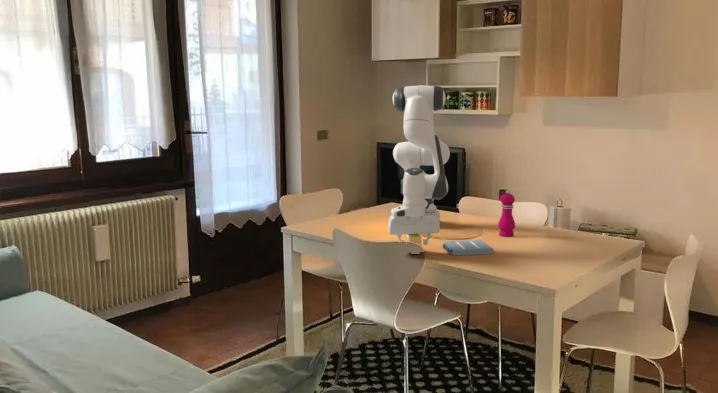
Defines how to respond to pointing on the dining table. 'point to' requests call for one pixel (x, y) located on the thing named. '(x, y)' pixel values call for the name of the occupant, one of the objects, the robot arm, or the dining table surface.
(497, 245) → the dining table surface
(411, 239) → the pale yellow block
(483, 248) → the board
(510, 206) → the pepper mill
